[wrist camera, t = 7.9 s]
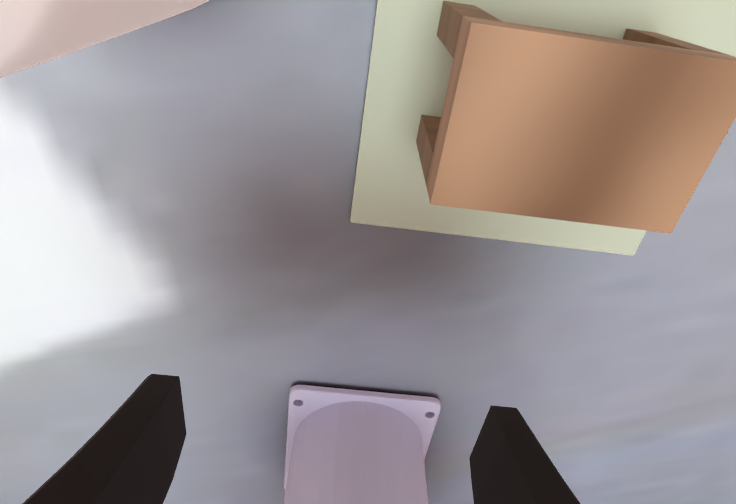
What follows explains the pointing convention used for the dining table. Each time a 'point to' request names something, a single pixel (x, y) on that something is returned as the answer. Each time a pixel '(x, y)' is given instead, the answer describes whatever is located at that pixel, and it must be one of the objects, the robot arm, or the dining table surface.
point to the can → (72, 26)
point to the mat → (427, 95)
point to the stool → (574, 122)
